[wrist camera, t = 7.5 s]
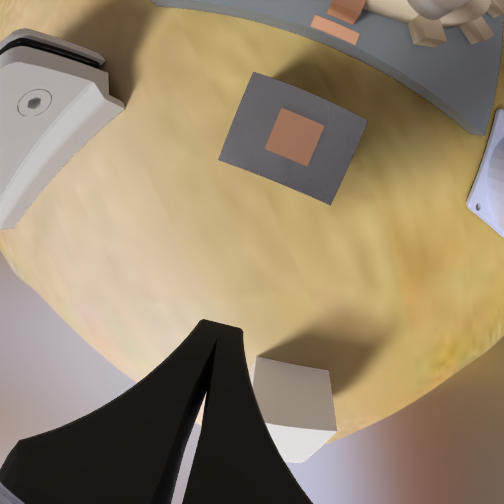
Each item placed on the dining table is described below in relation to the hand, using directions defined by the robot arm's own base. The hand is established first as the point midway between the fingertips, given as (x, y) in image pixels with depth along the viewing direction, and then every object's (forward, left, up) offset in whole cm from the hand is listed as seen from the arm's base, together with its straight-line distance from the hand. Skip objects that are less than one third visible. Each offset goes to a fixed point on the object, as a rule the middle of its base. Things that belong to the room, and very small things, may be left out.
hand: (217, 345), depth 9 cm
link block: (0, -7, -9) cm, 11 cm away
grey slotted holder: (+18, -2, -9) cm, 20 cm away
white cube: (-7, +11, -9) cm, 15 cm away
